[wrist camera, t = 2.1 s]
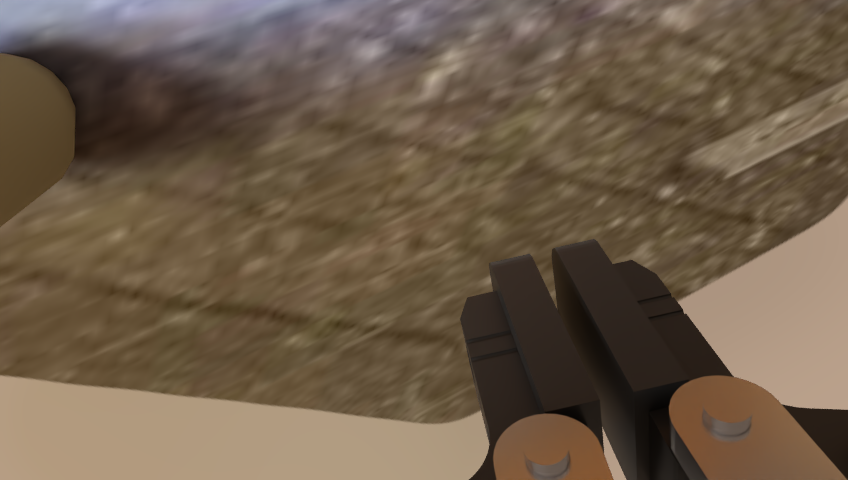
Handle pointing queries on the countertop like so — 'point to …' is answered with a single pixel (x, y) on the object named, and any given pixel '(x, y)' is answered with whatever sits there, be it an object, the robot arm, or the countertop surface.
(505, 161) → the countertop surface
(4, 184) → the squeeze bottle
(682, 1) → the countertop surface
